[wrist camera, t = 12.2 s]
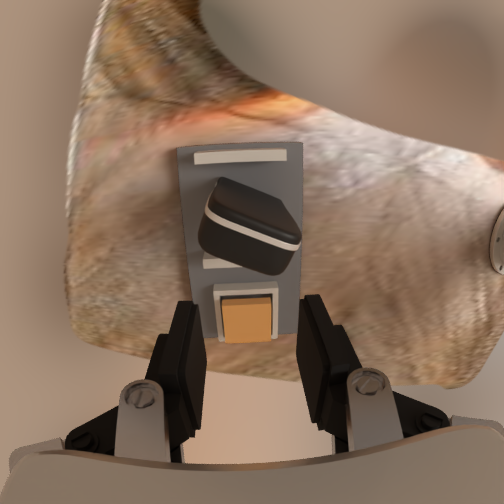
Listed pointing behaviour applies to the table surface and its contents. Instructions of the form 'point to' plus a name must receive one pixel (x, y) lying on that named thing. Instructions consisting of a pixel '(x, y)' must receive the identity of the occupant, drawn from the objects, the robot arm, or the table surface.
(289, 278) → the charging dock
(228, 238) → the battery charger
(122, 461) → the robot arm
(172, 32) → the table surface
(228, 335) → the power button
